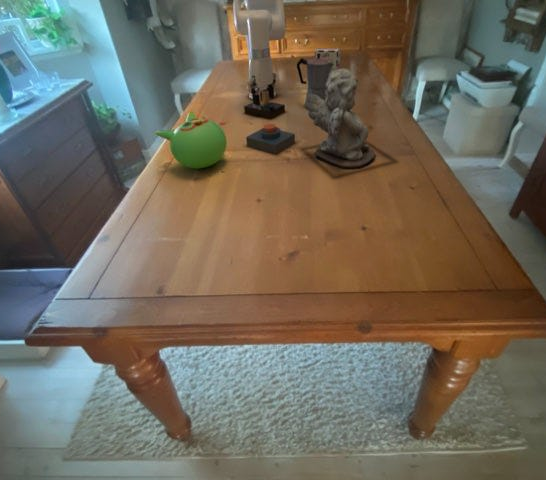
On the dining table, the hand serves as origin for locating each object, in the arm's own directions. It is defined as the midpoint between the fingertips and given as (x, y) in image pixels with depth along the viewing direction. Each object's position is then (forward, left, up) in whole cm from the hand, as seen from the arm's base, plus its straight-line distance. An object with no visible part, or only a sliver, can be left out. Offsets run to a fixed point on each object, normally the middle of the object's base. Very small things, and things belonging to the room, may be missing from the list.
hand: (263, 101), depth 143 cm
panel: (0, 0, -5) cm, 5 cm away
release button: (+22, -24, 0) cm, 33 cm away
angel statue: (+49, -18, -5) cm, 52 cm away
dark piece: (+22, -24, -5) cm, 33 cm away
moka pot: (+14, +17, -5) cm, 23 cm away
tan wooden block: (0, 0, -2) cm, 2 cm away
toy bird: (+12, -48, -5) cm, 50 cm away
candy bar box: (+5, +42, -5) cm, 43 cm away
